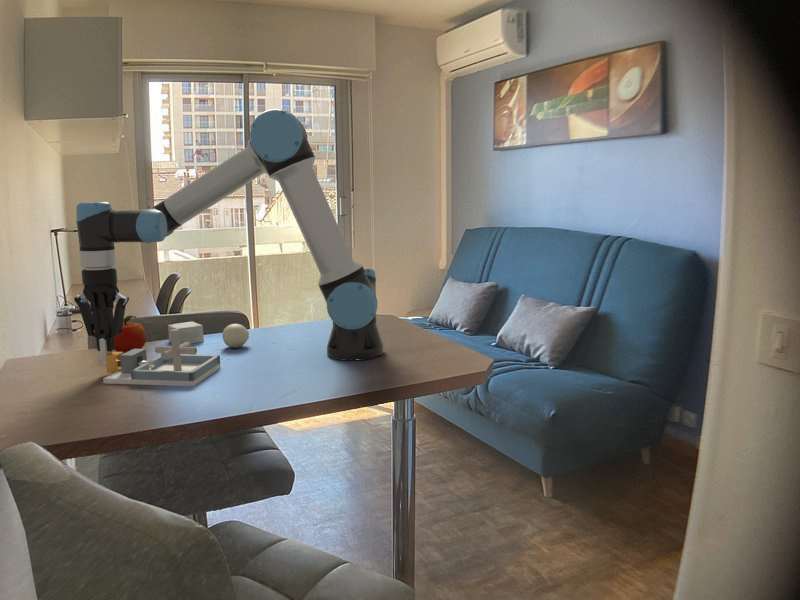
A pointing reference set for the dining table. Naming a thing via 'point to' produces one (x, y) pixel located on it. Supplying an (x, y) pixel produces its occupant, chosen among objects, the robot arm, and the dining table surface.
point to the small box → (188, 332)
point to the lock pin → (115, 362)
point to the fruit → (130, 336)
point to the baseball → (235, 335)
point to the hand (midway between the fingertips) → (107, 363)
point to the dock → (163, 370)
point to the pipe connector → (175, 350)
